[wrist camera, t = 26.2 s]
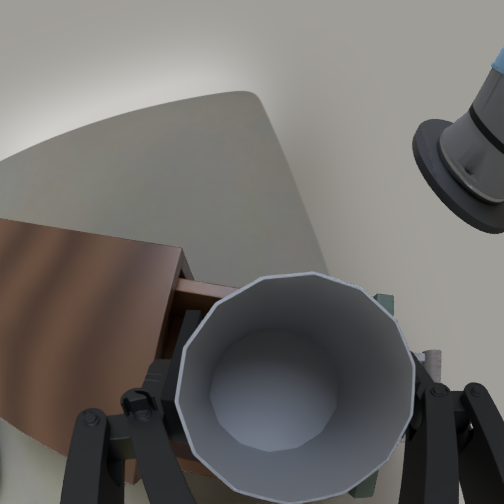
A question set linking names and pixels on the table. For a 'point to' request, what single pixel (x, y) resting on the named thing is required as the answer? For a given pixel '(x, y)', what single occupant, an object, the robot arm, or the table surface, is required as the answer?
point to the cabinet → (78, 325)
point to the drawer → (203, 299)
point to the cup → (295, 388)
